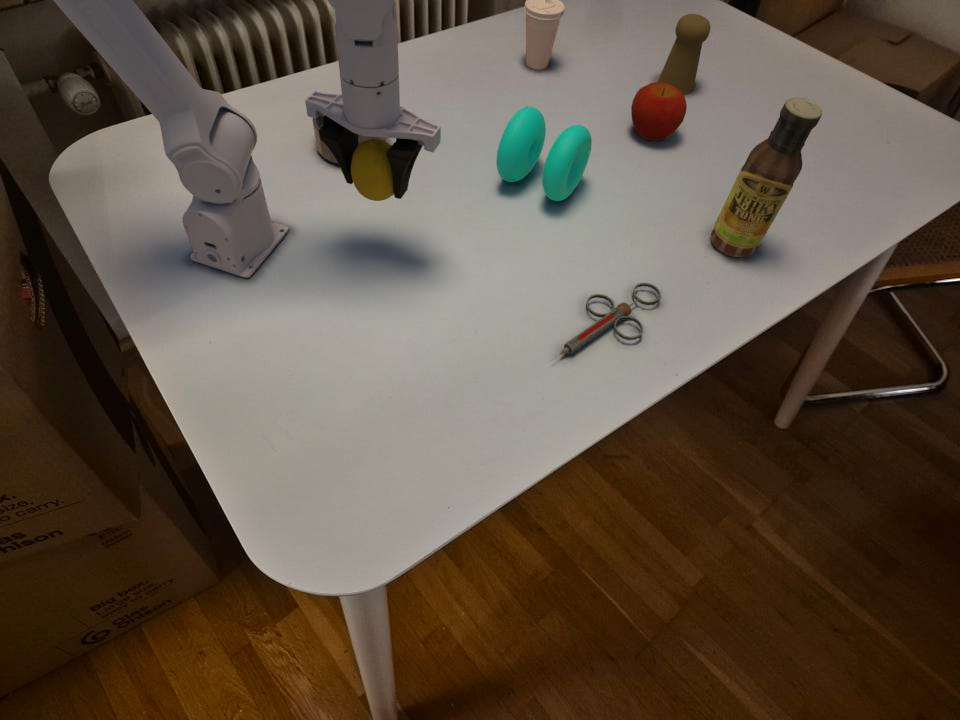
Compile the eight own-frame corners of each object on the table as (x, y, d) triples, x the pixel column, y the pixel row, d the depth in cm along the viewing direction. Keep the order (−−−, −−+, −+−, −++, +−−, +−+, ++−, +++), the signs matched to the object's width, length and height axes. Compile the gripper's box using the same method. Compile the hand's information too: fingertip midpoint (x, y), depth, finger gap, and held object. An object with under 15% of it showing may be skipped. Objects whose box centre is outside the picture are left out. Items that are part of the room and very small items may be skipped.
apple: (686, 144, 100) (703, 96, 94) (641, 153, 98) (655, 105, 92) (659, 116, 105) (674, 69, 98) (616, 124, 102) (628, 76, 96)
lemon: (406, 187, 79) (404, 128, 73) (397, 218, 76) (394, 158, 69) (359, 182, 79) (354, 122, 73) (349, 212, 76) (342, 151, 69)
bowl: (369, 175, 91) (366, 147, 88) (304, 157, 93) (299, 128, 89) (399, 137, 97) (398, 109, 93) (337, 120, 99) (334, 91, 95)
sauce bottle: (703, 250, 86) (765, 111, 70) (714, 222, 90) (775, 83, 74) (753, 267, 85) (827, 128, 69) (761, 238, 88) (834, 99, 72)
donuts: (524, 154, 96) (533, 90, 88) (586, 179, 94) (601, 115, 86) (489, 190, 91) (495, 125, 83) (554, 218, 88) (567, 154, 80)
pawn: (650, 79, 111) (669, 11, 103) (679, 72, 113) (700, 6, 104) (671, 97, 108) (692, 30, 99) (701, 91, 110) (724, 24, 101)
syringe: (524, 344, 74) (526, 335, 73) (629, 274, 82) (633, 264, 81) (573, 388, 71) (576, 379, 70) (678, 311, 79) (682, 301, 78)
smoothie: (562, 62, 113) (577, -26, 102) (544, 78, 109) (557, -12, 98) (529, 50, 115) (540, -38, 104) (510, 65, 111) (520, -24, 100)
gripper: (453, 71, 66) (449, 183, 77) (323, 36, 69) (337, 150, 79) (424, 106, 62) (425, 220, 73) (287, 68, 64) (307, 183, 75)
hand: (377, 186), depth 76 cm, fingers closed on lemon, 5 cm apart
